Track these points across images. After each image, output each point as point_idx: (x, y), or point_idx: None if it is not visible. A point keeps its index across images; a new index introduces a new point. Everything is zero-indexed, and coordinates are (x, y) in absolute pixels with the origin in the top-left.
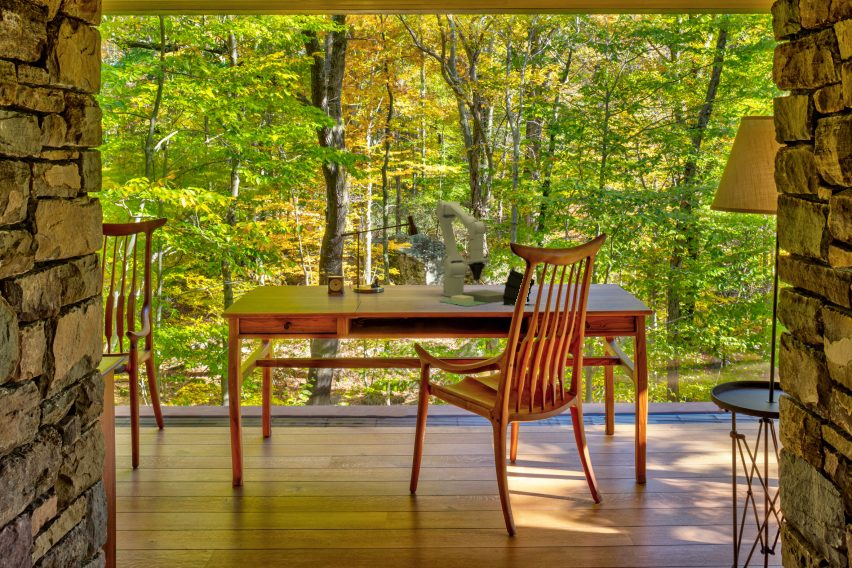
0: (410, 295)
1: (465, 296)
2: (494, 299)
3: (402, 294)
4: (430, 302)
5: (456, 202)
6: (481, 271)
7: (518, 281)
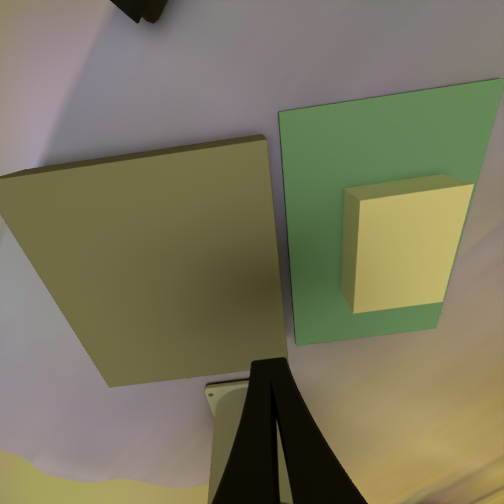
0: (374, 462)
1: (390, 246)
2: (183, 148)
3: (376, 478)
4: (472, 330)
5: None
6: (231, 471)
7: None
